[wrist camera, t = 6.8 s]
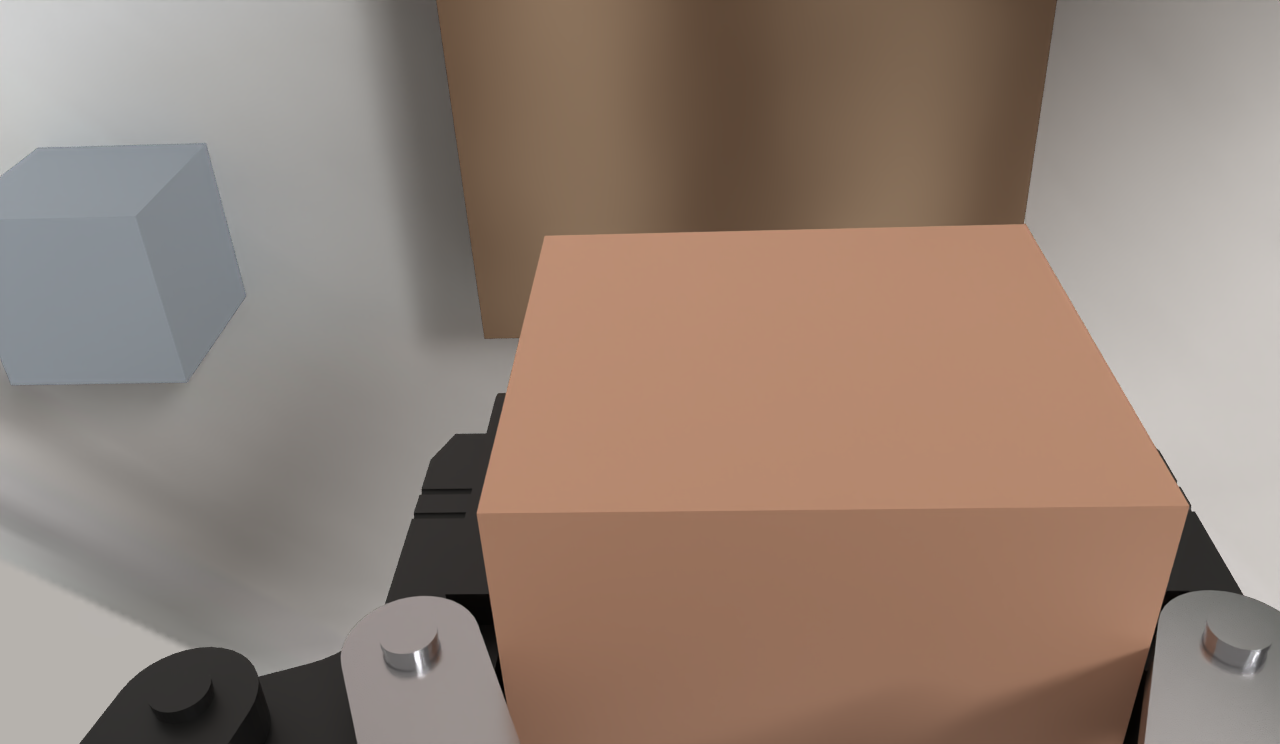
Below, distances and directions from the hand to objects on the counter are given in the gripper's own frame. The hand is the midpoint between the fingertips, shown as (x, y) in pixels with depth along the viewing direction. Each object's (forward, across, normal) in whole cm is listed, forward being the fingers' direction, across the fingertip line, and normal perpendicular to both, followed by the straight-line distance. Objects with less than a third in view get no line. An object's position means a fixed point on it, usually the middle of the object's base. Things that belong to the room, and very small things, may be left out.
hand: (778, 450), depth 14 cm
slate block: (+16, +16, +4) cm, 23 cm away
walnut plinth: (+16, 0, 0) cm, 16 cm away
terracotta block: (+1, 0, 0) cm, 1 cm away
